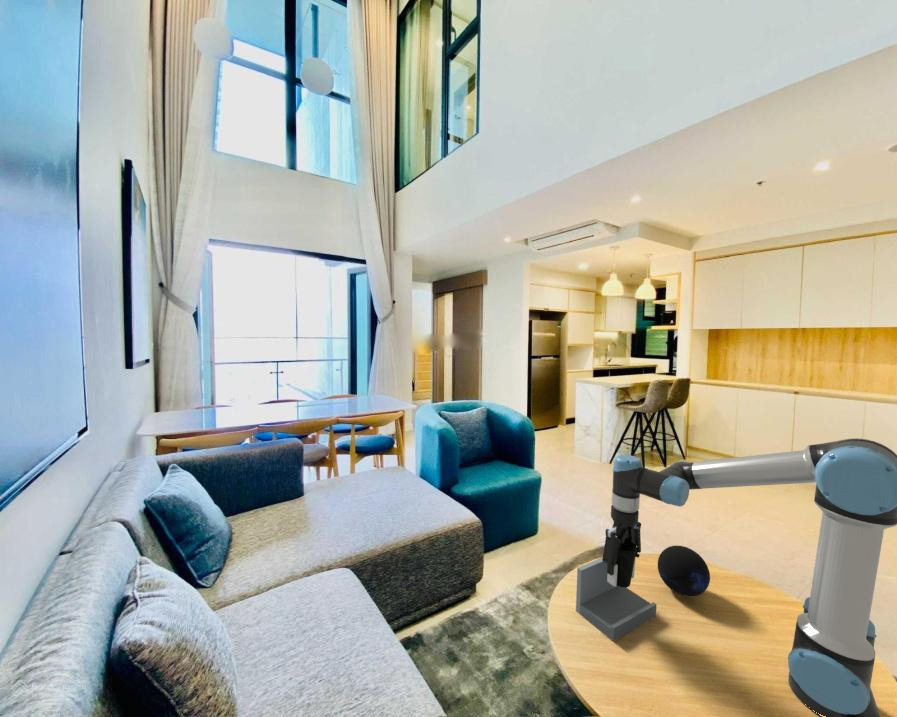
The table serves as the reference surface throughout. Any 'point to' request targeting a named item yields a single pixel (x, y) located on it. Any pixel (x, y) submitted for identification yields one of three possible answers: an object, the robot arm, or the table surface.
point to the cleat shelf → (609, 602)
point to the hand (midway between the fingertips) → (620, 579)
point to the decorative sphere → (683, 571)
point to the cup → (625, 564)
